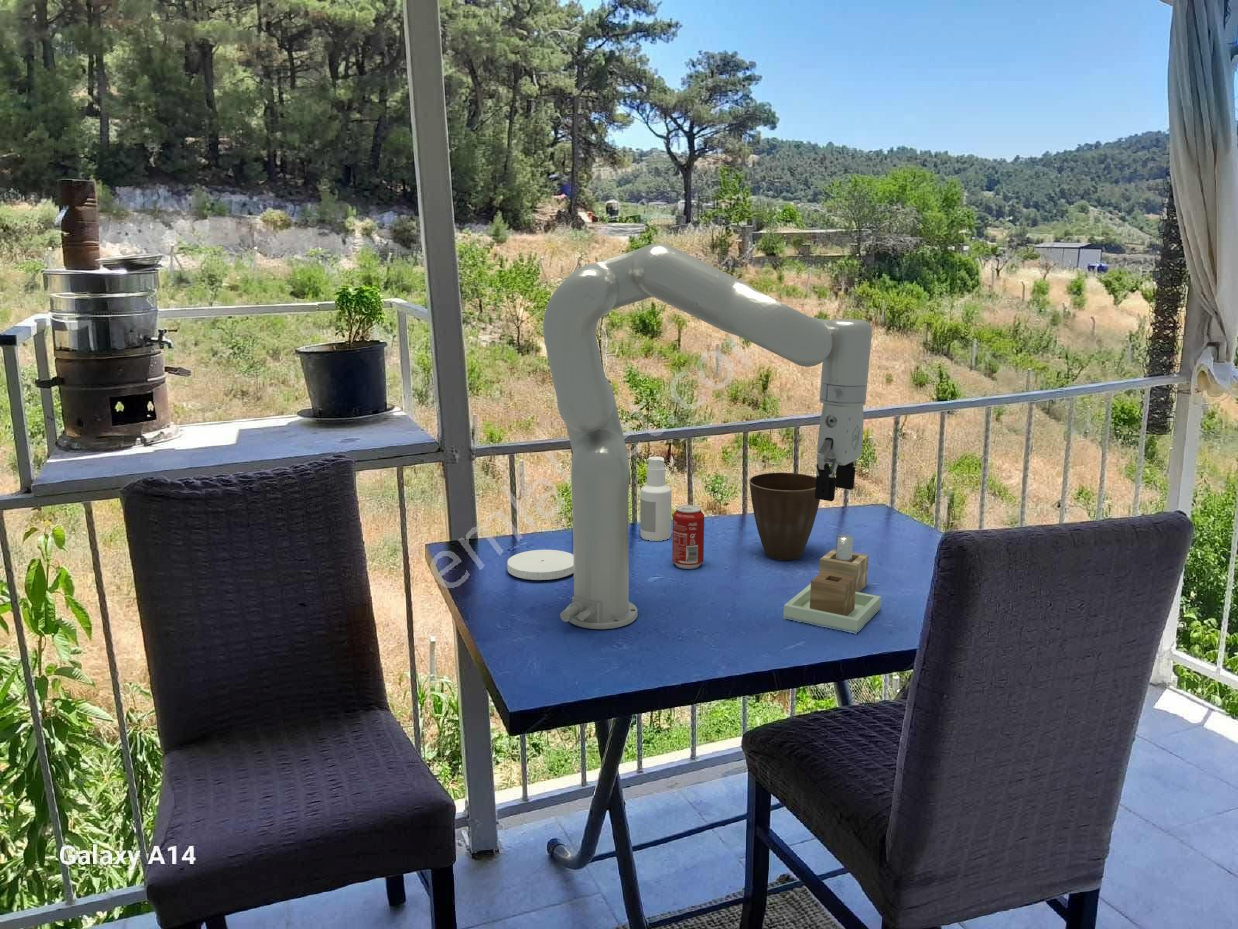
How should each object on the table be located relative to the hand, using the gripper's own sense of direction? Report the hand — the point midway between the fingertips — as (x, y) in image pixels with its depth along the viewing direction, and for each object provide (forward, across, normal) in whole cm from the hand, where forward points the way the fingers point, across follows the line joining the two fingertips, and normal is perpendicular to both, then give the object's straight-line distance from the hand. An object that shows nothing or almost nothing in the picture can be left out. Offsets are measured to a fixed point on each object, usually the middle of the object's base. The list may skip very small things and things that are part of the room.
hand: (834, 493), depth 161 cm
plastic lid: (+24, -8, +56) cm, 61 cm away
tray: (+22, +1, -1) cm, 22 cm away
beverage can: (+23, +11, +33) cm, 41 cm away
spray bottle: (+23, +24, +48) cm, 58 cm away
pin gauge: (+22, +15, +2) cm, 26 cm away
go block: (+22, +15, +2) cm, 26 cm away
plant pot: (+22, +27, +19) cm, 39 cm away
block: (+21, +1, -1) cm, 21 cm away
